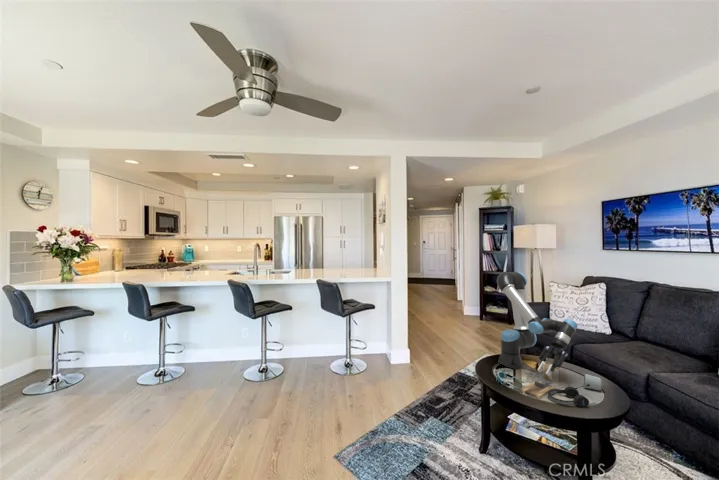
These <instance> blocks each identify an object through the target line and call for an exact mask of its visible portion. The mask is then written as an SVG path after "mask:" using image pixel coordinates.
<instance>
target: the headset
mask: <svg viewBox="0 0 719 480" xmlns="http://www.w3.org/2000/svg"><path fill="white" fill-rule="evenodd" d="M585 386H590V384H587V385H585ZM583 387H584V385H582V386H578V387H574V386H566V387H564V389H559V388H558V389H555V388H554V390H550V391H549V392H548V394H547V396H548V400H550V401H551V402H552V403H555V404H557V405H560V406H574V405H575V406H578V407H579V408H588V406H589V405H590V400H589V399H588V398H587V397H586V396H585V395H582V394H580V392H579V391H578V389H579V388H583ZM558 394H559V395H561V394H562V395H563V394H565V395H566V397H568V398H569V399H573V400H564V399H560V398H556V397H554V396H553V395H558Z"/></svg>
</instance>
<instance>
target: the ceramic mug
mask: <svg viewBox="0 0 719 480" xmlns="http://www.w3.org/2000/svg"><path fill="white" fill-rule="evenodd" d="M587 384H590V386H585V385H587ZM583 387H584V389H590V390H594V391H598V392H599V391H600V392H601V391H602V390H603V379H602V378H601V377H599V376H594V375H591V374H587V373H584V375H583Z"/></svg>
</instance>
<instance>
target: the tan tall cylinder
mask: <svg viewBox="0 0 719 480" xmlns="http://www.w3.org/2000/svg"><path fill="white" fill-rule="evenodd" d="M551 364H552V363H550V361H549V359H548V358H546V361H545V362H543V370H542V380H545V381H548V382H551V381H552V373H551V374H550V376H548V375H547V374H546V372H547V370H548V368H549V367H550V365H551Z"/></svg>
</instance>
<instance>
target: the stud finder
mask: <svg viewBox="0 0 719 480" xmlns="http://www.w3.org/2000/svg"><path fill="white" fill-rule="evenodd" d="M534 382H535V386H538V387H540V388H543V389H545V388H546V387H548V386H550V381H546V380H544V379H543V378H542V379H541V378H538V379H536V380H534Z"/></svg>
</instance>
